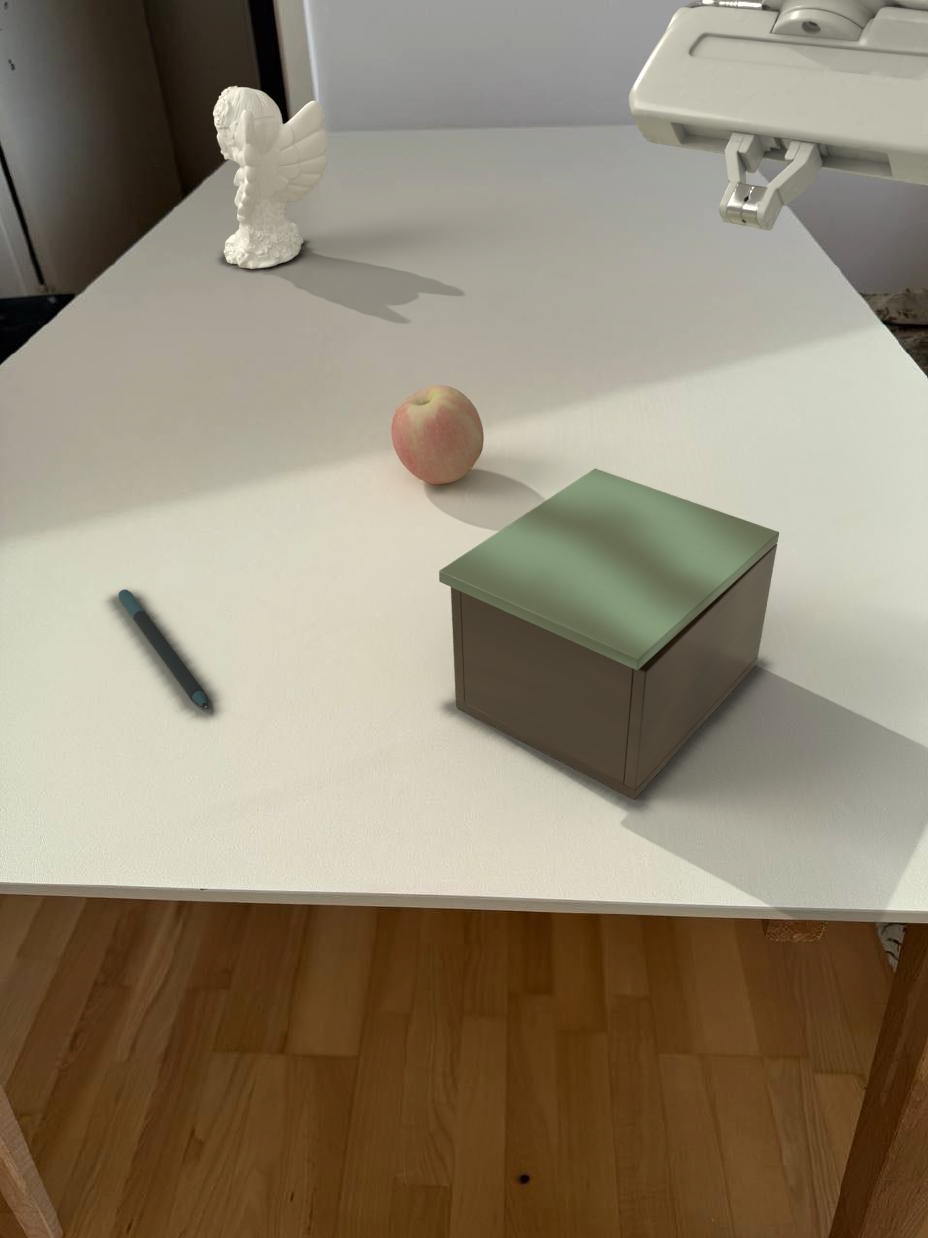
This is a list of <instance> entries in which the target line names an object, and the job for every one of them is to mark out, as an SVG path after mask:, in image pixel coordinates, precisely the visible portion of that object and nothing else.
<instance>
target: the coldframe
mask: <svg viewBox="0 0 928 1238" xmlns="http://www.w3.org/2000/svg"><path fill="white" fill-rule="evenodd" d="M777 548H778V543H777V544H775V545H774V546H773V547H772V548H771V549H770V550H769V551H768V552H767V553H766V554H764V555H763V556H762V557H761V558H760V559H759V560H758V561H757V562H756V563H755V564H754V565H752V566H751V567H750V568H749V569H748V570H747V571H746V572H745V573H744V574H743V575H741V576H740V577H739V578H738V579H737V580H736V581H735V582H734V583H733V584H732V585H730V586H729V587H728V588H727V589H726V590H725V591H724V592H723V593H722V594H721V595H719V596H718V597H717V598H716V599H715V600H714V601H713V602H712V603H711V604H710V605H709V606H707V607H706V608H705V609H704V610H703V611H702V612H701V613H700V614H699V615H698V616H696V617H695V618H694V619H693V620H692V621H691V622H690V623H689V624H688V625H687V626H685V627H684V628H683V629H682V630H681V631H680V632H679V633H678V634H677V635H676V636H675V637H673V638H672V639H671V640H670V641H669V642H668V643H667V644H666V645H665V646H664V647H662V648H661V649H660V650H659V651H658V652H657V653H656V654H655V655H654V656H653V657H651V658H650V659H649V660H648V661H647V662H646V663H645V664H644V665H643V666H642V667H640V668H639V669H638V670H635V669H633V668H631V667H629V666H626V665H624V664H622V663H620V662H617V661H615V660H613V659H611V658H609V657H606V656H604V655H602V654H600V653H597V652H595V651H593V650H591V649H588V648H586V647H584V646H582V645H579V644H577V643H575V642H573V641H571V640H568V639H566V638H564V637H562V636H559V635H557V634H555V633H553V632H550V631H548V630H546V629H544V628H542V627H539V626H537V625H535V624H533V623H530V622H528V621H526V620H524V619H521V618H519V617H517V616H515V615H513V614H510V613H508V612H506V611H504V610H501V609H499V608H497V607H495V606H492V605H490V604H488V603H486V602H483V601H481V600H479V599H477V598H475V597H472V596H470V595H468V594H466V593H463V592H461V591H459V590H457V589H454V588H452V587H450V602H451V603H450V605H451V626H452V647H453V648H452V649H453V650H452V651H453V670H454V674H453V675H454V695H455V696H454V697H455V707H456V708H457V709H459V710H461V711H463V712H465V713H466V714H468V715H470V716H473V717H475V718H476V719H478V720H480V721H482V722H484V723H486V724H488V725H490V726H492V727H493V728H494V729H497V730H499V731H501V732H503V733H505V734H507V735H508V736H511V737H513V738H515V739H517V740H518V741H521V742H522V743H524V744H526V745H528V746H529V747H532V748H534V749H536V750H538V751H540V752H542V753H544V754H546V755H548V756H549V757H551V758H553V759H555V760H558V761H559V762H561V763H563V764H565V765H567V766H569V767H570V768H572V769H574V770H576V771H577V772H581V773H582V774H584V775H586V776H587V777H589V778H591V779H594V780H596V781H597V782H599V783H602V784H603V785H605V786H607V787H609V788H611V789H613V790H614V791H617V792H619V793H621V794H622V795H624V796H626V797H629V798H630V799H632V800H635V799H636V798H637V797H638V796H639V795H640V794H642V792H643V791H644V790H645V788H646V787H647V786H648V785H649V784H650V783H651V782H652V781H653V779H654V778H655V777H656V776H657V775H658V774H659V773H660V772H661V771H662V770H663V769H664V767H665V766H667V765H668V763H669V762H670V761H671V760H672V759H673V758H674V756H675V755H676V754H677V753H678V752H679V751H680V750H681V749H682V748H683V746H684V745H685V744H686V743H687V742H688V741H689V740H690V739H691V738H692V737H693V736H694V734H695V733H696V732H697V731H698V730H699V729H700V728H701V727H702V725H704V724H705V722H706V721H707V720H708V719H709V718H710V717H711V716H712V714H713V713H714V712H715V711H716V710H717V709H718V708H719V707H720V706H721V704H722V703H723V702H724V701H725V700H726V699H727V698H728V697H729V696H730V695H731V694H732V693H733V692H734V690H735V689H736V688H737V687H738V686H739V685H740V684H741V683H742V682H743V680H744V679H746V677H747V676H748V675H749V674H750V673H751V672H752V671H753V670H754V668H755V667H756V666H757V664H758V659H759V653H760V647H761V641H762V636H763V630H764V626H765V625H764V624H765V618H766V613H767V607H768V601H769V595H770V590H771V584H772V577H773V572H774V567H775V560H776V555H777Z"/></svg>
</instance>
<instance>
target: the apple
mask: <svg viewBox="0 0 928 1238" xmlns="http://www.w3.org/2000/svg"><path fill="white" fill-rule="evenodd" d="M390 427H391V429H390V432H391V433H390V434H391V442H392V446H393V448H394V451H395V454H396V455H397V457H398V459H399V461H400V463H401V464H402V465H403V466H404V468H405V469H407V470H408V471H409V472H410V473H411V475H413V476H414V477H416V478H417V479H419V480H420V481H423V482H424V483H428V484H431V485H444V484H450V483H453V482H456V481H458V480H460V479H461V478H463V477H464V476H465V475H466V474H468V473H469V472H470V471H471V469H472V468H473V467H474V465H475V464H476V463H477V462H478V460H479V459H480V457H481V455H482V452H483V450H484V449H483V448H484V441H485V439H484V438H485V437H484V427H483V424H482V421H481V417H480V414H479V412H478V410H477V408H476V407H475V405H474V403H473V402H472V401H471V400H470V399H469V398H468V396H466V395H465V394H464V393H463V392H461V391H460V390H458V389H456V388H455V387H453V386H450V385H442V384H433V385H428V386H426V387H424V388H423V389H420V390H418V391H417V392H415V393H413V394H412V395H410V396H408V397H407V398H406V399H404V400H403V401H402V402H401V403H400V404H399V406H398V407H397V408H396V410H395V411H394V414H393V416H392V421H391V426H390Z"/></svg>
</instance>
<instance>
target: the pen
mask: <svg viewBox="0 0 928 1238" xmlns="http://www.w3.org/2000/svg"><path fill="white" fill-rule="evenodd" d="M118 599H119V601H120V603H121V605H122V606H123V607H124V609H125V610H126V611H127V613H128V614H129V615H130V617H131V618H132V620H133V621H134V622H135V624H136V625H137V627H138V628H139V630H141V632H142V633H143V635H144V636H145V638H146V640H147V641H148V642H149V644H150V645H151V646H152V648H153V649H154V651H156V653H157V655H158V656H159V657H160V658H161V660H162V661H163V663H164V665H165V666H166V667H167V669H169V671H170V672H171V674H172V676H174V679H176V681H177V682H178V684H179V685H180V686H181V688H182V689H183V690H184V692H185V693H186V694H187V696H188V697H189V699H190V700H191V701H192V702H194V703H195V704H196V705H198V706H201V707H202V708H204V709H207V708H208V702H207V697H206V692H205V690H204V689H203V687H202V686H201V684H200V683H199V682H198V681H197V679H196V678H195V677H194V675H193V674H192V673H191V671H190V670H189V669H188V667H187V666H186V664H185V663H184V662H183V660H182V659H181V657H180V656H179V655H178V653H177V652H176V651H175V650H174V648H173V647H172V645H171V643H170V642H169V641H168V640H167V639H166V637H165V636H164V635H163V633H162V632H161V631H160V629H159V628H158V626H157V625H156V624H155V623H154V621H153V619H151V617H150V616H149V615H148V613H147V611H146V610H145V609H144V607H143V606H142V605H141V603H140V602H139V601H138V600H137V598H136V597H135V596H134V594H133V593H132V592H131V591H129V590H128V589H121V590H120V591H119V592H118Z"/></svg>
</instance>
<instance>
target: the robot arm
mask: <svg viewBox="0 0 928 1238" xmlns="http://www.w3.org/2000/svg"><path fill="white" fill-rule="evenodd" d="M627 98H628V99H627V100H628V101H627V102H628V107H629V111H630V114H631V116H632V119H633V121H634V123H635V126H636V127H637V128H638V130H639V132H640V133H641V135H642V138H644V140H646V141H647V142H649V143H652V144H656V145H663V146H670V147H677V148H682V149H688V150H689V149H690V150H697V151H703V152H708V153H709V152H710V153H715V154H723V155H725V163H726V173H727V181H728V186H727V187H726V189H725V191H724V194H723V195H722V198H721V201H720V202H719V206H718V213H719V215H720V217H721V219H722V222H723V223H729V224H734V225H738V226H743V227H750V228H755V229H758V230H762V231H763V230H764V231H771V230H772V229H773V228H774V225H776V224H775V223H776V222H777V219H778V217H779V215H780V214H781V213H780V212H781V210H782V209H783V207H785V206H787V205H788V204H789V203H791V202H792V201H793V200H795V199H797V197H798V196H800V195H801V194H802V193H803V192H805V191H806V190H808V189H809V188H810V187H811V186H812V185H814V183H815V181H816V179H817V177H818V175H819V173H820V170H824V171H832V172H838V173H845V174H851V175H857V176H863V177H869V178H870V177H871V178H877V179H883V180H889V181H897V182H902V183H909V184H915V185H916V184H917V185H923V186H928V0H696V1H693V2H691V3H689V4H687V5H685V6H683V7H680V8H678V9H677V11H675V12H674V14H673V15H672V17H671V19H670V22H669V23H668V25H667V27H666V29H665V32H664V33H663V35H662V36H661V37H660V39H659V41H658V42H657V44H656V45H655V47H654V48H653V50H652V52H651V53H650V55H649V56H648V58H647V60H646V62H645V64H644V65H643V66H642V68H641V70H640V72H639V74H638V76H637V78H636V79H635V81H634V83H633V85H632V86H631V89H630V91H629V95H628V97H627ZM762 161H766V162H767V161H768V162H773V163H780V164H786V167H785V168H784V169H783V170H782V171H781V172H780V173H779V174H777V175H776V177H774V178H773V179H772V180H771V181H770V182H769V183H768V184H766V186H761V185H755V184H754V185H753V184H749V183H747V173H748V174H755V173H756V172H757V170H758V168H759V166H760V164H761V162H762Z"/></svg>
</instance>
